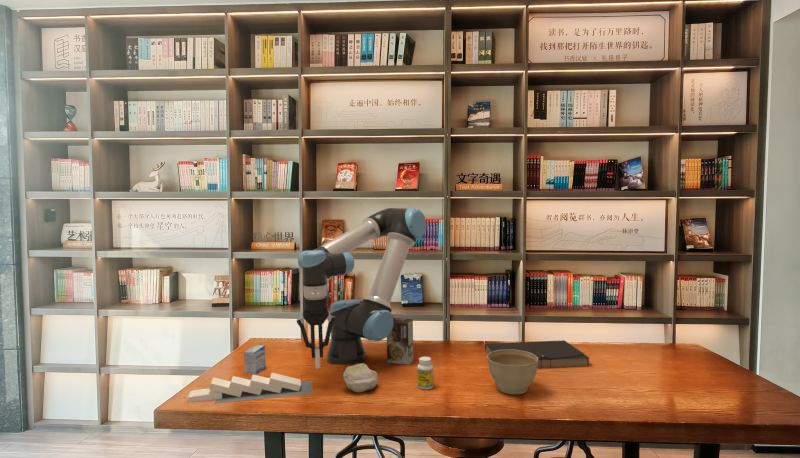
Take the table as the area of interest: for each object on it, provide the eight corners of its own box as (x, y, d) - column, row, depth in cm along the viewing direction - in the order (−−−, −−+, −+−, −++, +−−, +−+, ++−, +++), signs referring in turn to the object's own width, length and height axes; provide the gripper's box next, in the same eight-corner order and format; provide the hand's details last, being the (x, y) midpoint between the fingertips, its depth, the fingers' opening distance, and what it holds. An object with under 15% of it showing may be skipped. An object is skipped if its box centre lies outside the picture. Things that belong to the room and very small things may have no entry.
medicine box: (255, 375, 170) (254, 352, 170) (244, 374, 171) (243, 351, 171) (266, 367, 178) (265, 345, 178) (255, 367, 179) (254, 344, 178)
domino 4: (282, 381, 159) (252, 374, 157) (281, 387, 154) (251, 380, 151) (280, 386, 159) (250, 380, 157) (280, 393, 154) (249, 386, 151)
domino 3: (263, 383, 157) (233, 375, 155) (261, 389, 152) (230, 381, 150) (261, 388, 157) (231, 381, 155) (260, 395, 152) (228, 387, 150)
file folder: (501, 360, 172) (484, 341, 196) (502, 371, 172) (485, 351, 196) (590, 356, 174) (562, 338, 198) (589, 367, 174) (562, 348, 198)
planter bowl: (535, 381, 161) (536, 350, 161) (539, 401, 146) (540, 367, 145) (487, 378, 165) (487, 347, 164) (486, 397, 149) (486, 364, 148)
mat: (311, 381, 164) (311, 380, 164) (312, 394, 153) (312, 393, 153) (220, 390, 158) (220, 389, 157) (214, 404, 147) (214, 403, 147)
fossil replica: (384, 386, 159) (359, 383, 164) (383, 361, 160) (358, 359, 164) (365, 397, 149) (339, 394, 154) (364, 370, 149) (338, 368, 154)
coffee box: (414, 359, 185) (413, 318, 184) (409, 365, 179) (408, 323, 177) (392, 357, 188) (391, 317, 186) (386, 362, 181) (385, 321, 180)
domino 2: (244, 384, 156) (213, 377, 154) (242, 391, 151) (210, 383, 149) (242, 390, 156) (211, 383, 154) (240, 397, 151) (208, 389, 149)
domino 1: (223, 386, 155) (191, 390, 153) (221, 392, 150) (187, 397, 148) (224, 392, 155) (191, 396, 153) (221, 398, 150) (188, 403, 148)
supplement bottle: (435, 384, 160) (435, 356, 159) (431, 390, 155) (431, 362, 154) (419, 382, 162) (419, 355, 161) (415, 388, 157) (415, 360, 156)
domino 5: (300, 379, 160) (271, 372, 158) (300, 385, 155) (270, 378, 153) (298, 385, 160) (269, 378, 158) (298, 391, 155) (268, 384, 153)
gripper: (295, 301, 152) (297, 372, 154) (336, 298, 155) (338, 368, 156) (295, 296, 159) (297, 364, 161) (334, 293, 162) (336, 361, 164)
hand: (317, 366), depth 159 cm, fingers closed
